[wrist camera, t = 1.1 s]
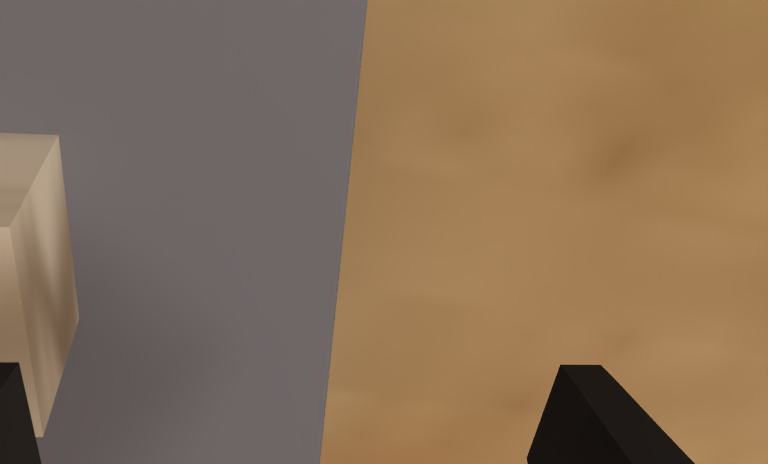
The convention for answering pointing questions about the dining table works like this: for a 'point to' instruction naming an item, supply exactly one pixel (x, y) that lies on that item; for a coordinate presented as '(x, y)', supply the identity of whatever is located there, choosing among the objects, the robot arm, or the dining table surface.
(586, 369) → the robot arm
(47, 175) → the maple block
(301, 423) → the box
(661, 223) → the dining table surface
